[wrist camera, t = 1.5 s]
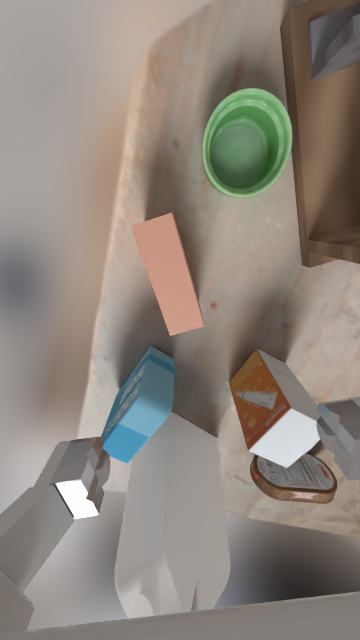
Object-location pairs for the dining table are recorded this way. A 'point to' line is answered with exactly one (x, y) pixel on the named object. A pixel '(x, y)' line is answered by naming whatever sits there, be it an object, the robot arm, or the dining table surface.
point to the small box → (274, 410)
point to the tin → (295, 480)
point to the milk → (173, 525)
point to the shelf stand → (325, 126)
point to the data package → (140, 405)
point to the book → (169, 273)
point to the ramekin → (246, 143)
